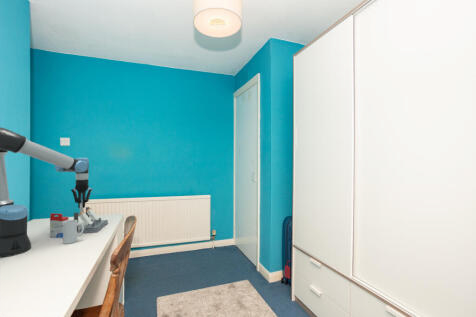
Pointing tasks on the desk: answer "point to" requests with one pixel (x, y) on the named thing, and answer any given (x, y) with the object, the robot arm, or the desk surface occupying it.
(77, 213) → the cable post left
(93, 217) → the paddle
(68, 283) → the desk surface
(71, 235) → the mug
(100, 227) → the breaker panel
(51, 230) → the ink box
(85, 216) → the paddle
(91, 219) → the cable post right
